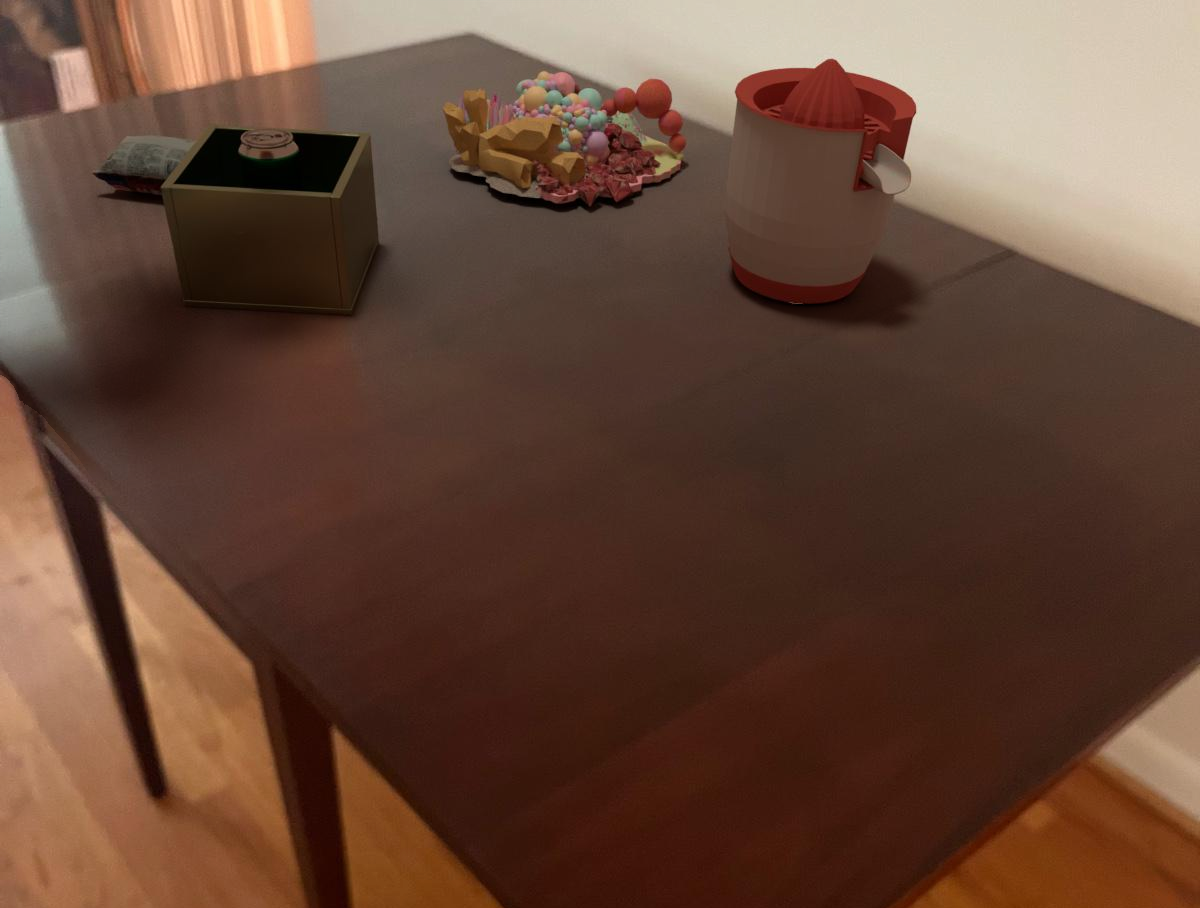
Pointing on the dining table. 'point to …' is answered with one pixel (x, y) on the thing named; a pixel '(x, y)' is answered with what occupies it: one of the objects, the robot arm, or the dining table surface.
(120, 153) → the packaged food
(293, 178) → the soda can
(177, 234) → the bin
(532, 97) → the food platter
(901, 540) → the dining table surface
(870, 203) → the citrus juicer
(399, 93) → the dining table surface
